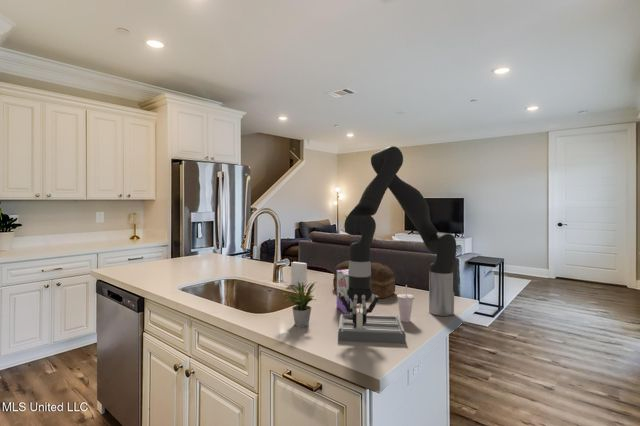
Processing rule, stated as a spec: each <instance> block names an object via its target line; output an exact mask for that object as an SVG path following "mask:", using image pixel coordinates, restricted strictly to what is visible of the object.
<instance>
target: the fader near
mask: <svg viewBox="0 0 640 426" xmlns="http://www.w3.org/2000/svg"><path fill="white" fill-rule="evenodd" d="M356 312H357V322H356V328H360V329H362V327H363V308H361V309H360V308H357V310H356Z"/></svg>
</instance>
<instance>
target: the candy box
mask: <svg viewBox="0 0 640 426" xmlns="http://www.w3.org/2000/svg"><path fill="white" fill-rule="evenodd" d="M348 271H349V270H348V269H346V270H337V290H336V308H337V309H339V310H340V311H341V312H343V313H344V314H352V313H351V312H348V311H347V309H346V308H345V306H344V304H343V302H342V300H341V295H342V294H345V293H347V291H348V288H349V273H348ZM347 298H348V299H347V302H348V304H349V305H350V307H351V308H353V302H352V301H351V299H350V298H349V296H347ZM359 308H360V309H362V304H360V303H359Z"/></svg>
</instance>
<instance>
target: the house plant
mask: <svg viewBox="0 0 640 426" xmlns="http://www.w3.org/2000/svg"><path fill="white" fill-rule="evenodd" d="M316 283H318V281H316V282H313V283H312V282H311V283H308V284H307V285H306V286H304V284H303V283H302V286H301V285H300V283H299V282H298V286H296V285H295V286H292V285H287V284H285V286H287V287H288V288H289V289H288V290H290V289H291V290H290V291H291V292H292V293H293V294H294V295H291V294H289V293H283V292H280V294H281V295H284V296H285V297H287V299H285V300H284V302H288V301H291V302H292V303H294V304H295V305H294V306H293V307H292V314H293V320H294V325H295V326H296V327H298V328H299V327H300V328H301V327H302V328H303V327H308V326H309V325H310V319H311V311H312V307H311V306H310V305H308V304H309V302H312V301H317V300H316V298H315V299H313V298H314V297H315V296H312V295H311V294H312V293H313V291H314V290H315V288H316V287H314V286H315V284H316ZM294 287H295V288H296V289H295V288H294ZM313 287H314V288H313ZM312 297H313V298H312Z"/></svg>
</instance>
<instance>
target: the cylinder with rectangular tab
mask: <svg viewBox="0 0 640 426" xmlns="http://www.w3.org/2000/svg"><path fill="white" fill-rule="evenodd" d="M290 265H291V267H290V271H291V272H290V286H292V285H294V286H293V287H296V286H297V287H298V282H299V283H300V285H301V287H302V283H303V284H304V285H306V286H307V285H308V264H307V262H301V261H300V262H299V261H293V262H292V261H291V264H290ZM295 285H296V286H295Z"/></svg>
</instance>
